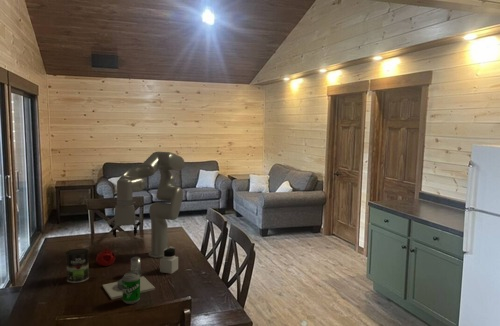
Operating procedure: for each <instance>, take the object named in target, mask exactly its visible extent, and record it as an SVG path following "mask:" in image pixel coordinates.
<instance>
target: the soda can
mask: <svg viewBox="0 0 500 326" xmlns="http://www.w3.org/2000/svg"><path fill="white" fill-rule="evenodd" d="M140 277H141V276H140V275H138V273H135V272H131V271H130V272H126V273H125V274H124V275H123V276H122V278H121V279H122V294H123V297H122V301H123V303H124V304H126V305H133V304H137V303H138V302H139V301H140V299H141V293H140Z"/></svg>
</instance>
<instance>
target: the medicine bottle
mask: <svg viewBox="0 0 500 326" xmlns="http://www.w3.org/2000/svg"><path fill="white" fill-rule="evenodd" d="M178 270H179V256H176V248H175V249H173V248H166V249H164V250H163V257H162V258H159V272H160V273H163V274H164V273H166V274H170V275H172V274H173V273H175V272H176V271H178Z"/></svg>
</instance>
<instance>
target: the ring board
mask: <svg viewBox="0 0 500 326" xmlns="http://www.w3.org/2000/svg"><path fill="white" fill-rule="evenodd" d="M102 287H103V289H104V291H105V292H106V294H107V295H108V297H109V298H110V299H111V300H116V299H120V298H123V294H122V278H120V279H118V281H115V282H109V283H106V284H105V283H103V284H102ZM155 290H156V287H155V286H154V285H153V284H152V283H151V282H150V281H149V280H148V279H147V278H146V277H145V276H143V275H142V276H140V294H143V293H146V292H150V291H155Z"/></svg>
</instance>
